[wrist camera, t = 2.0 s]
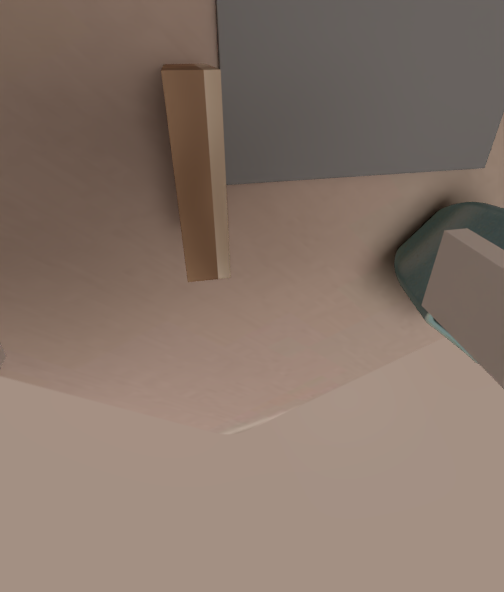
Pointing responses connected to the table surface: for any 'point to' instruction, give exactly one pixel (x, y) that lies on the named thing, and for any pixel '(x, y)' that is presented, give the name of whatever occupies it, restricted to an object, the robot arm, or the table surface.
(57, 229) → the table surface
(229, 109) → the mat
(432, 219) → the flower pot
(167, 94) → the walnut tile
